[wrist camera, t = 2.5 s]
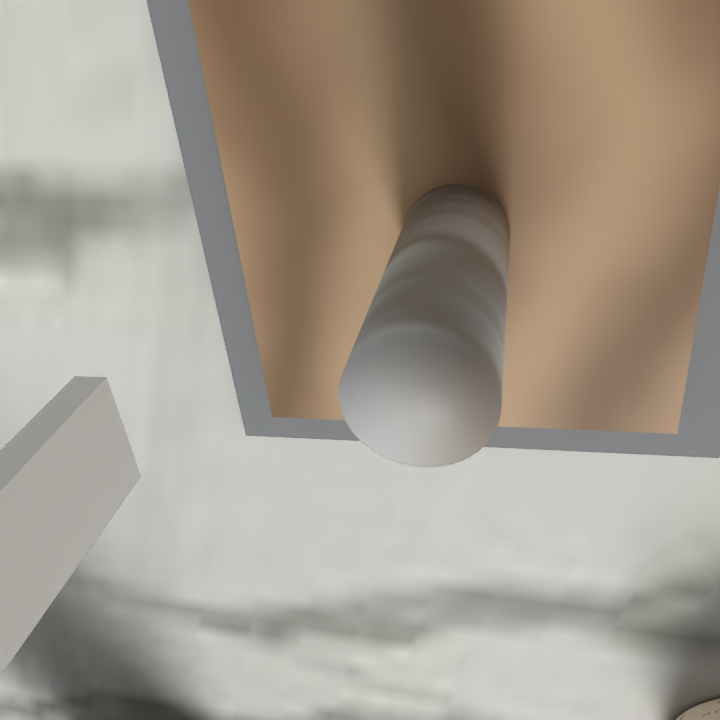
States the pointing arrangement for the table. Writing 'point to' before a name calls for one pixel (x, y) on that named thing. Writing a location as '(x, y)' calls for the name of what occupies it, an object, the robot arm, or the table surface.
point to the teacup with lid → (703, 711)
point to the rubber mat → (209, 195)
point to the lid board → (494, 123)
